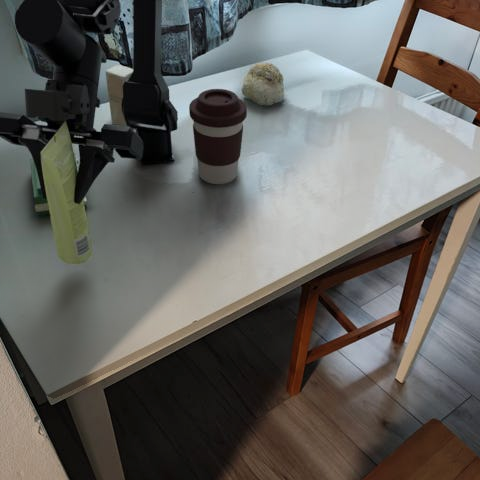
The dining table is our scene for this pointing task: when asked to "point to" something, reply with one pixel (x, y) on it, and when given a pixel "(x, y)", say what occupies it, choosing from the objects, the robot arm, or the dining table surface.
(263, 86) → the decorative item
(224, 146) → the coffee cup
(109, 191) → the dining table surface
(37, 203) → the stack of green books
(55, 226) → the tube
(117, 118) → the box
